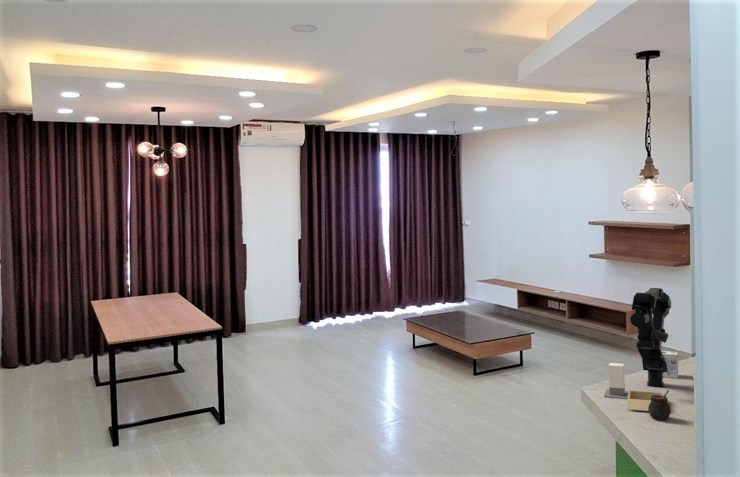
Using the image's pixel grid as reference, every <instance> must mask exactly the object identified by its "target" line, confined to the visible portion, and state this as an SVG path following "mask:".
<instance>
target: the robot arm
mask: <svg viewBox="0 0 740 477" xmlns="http://www.w3.org/2000/svg"><path fill="white" fill-rule="evenodd" d="M671 308H672V301H671V298H670V295H669V294H667V293H666V292H664V289H663V288H661V287H650V288H649V290H646V291H645V292H636V293H635V294H634V295H633V299H632V304H631V310H632V311H634V313H633V314H631V316H630V318H629V319H630V323H631V325H632V326H633V327H636V328H637V340H636V342H635V343H636V346H635V347H636V349H637V351H638V352H639V355H640V357H641V361H642V368H643V369H642V370H643V371H647V381H646V386H647V387H656V388H657V387H661V388H663V387H664V386H665V382H664V380H663V378H664V377H663V373H665V372H668V371H667V364H666V361H665V358H664V355H663V353H662V351H663V350H662V343H664V344H665V343H666V342H667V340H668V338H669V333H668V332H666V330H665V328H664V324H665V319H666V317H667V316H668V315H669V314H670V309H671Z"/></svg>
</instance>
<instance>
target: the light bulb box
mask: <svg viewBox="0 0 740 477" xmlns="http://www.w3.org/2000/svg"><path fill="white" fill-rule="evenodd" d="M661 351H662V353H663V355H664V358H665V361H666V364H667V371H668V372H665V373H663V378H666V379H667V378H668V379H678V378H679V354H678V353H679V352H678V351H672V350H671V351H670V350H661Z"/></svg>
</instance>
